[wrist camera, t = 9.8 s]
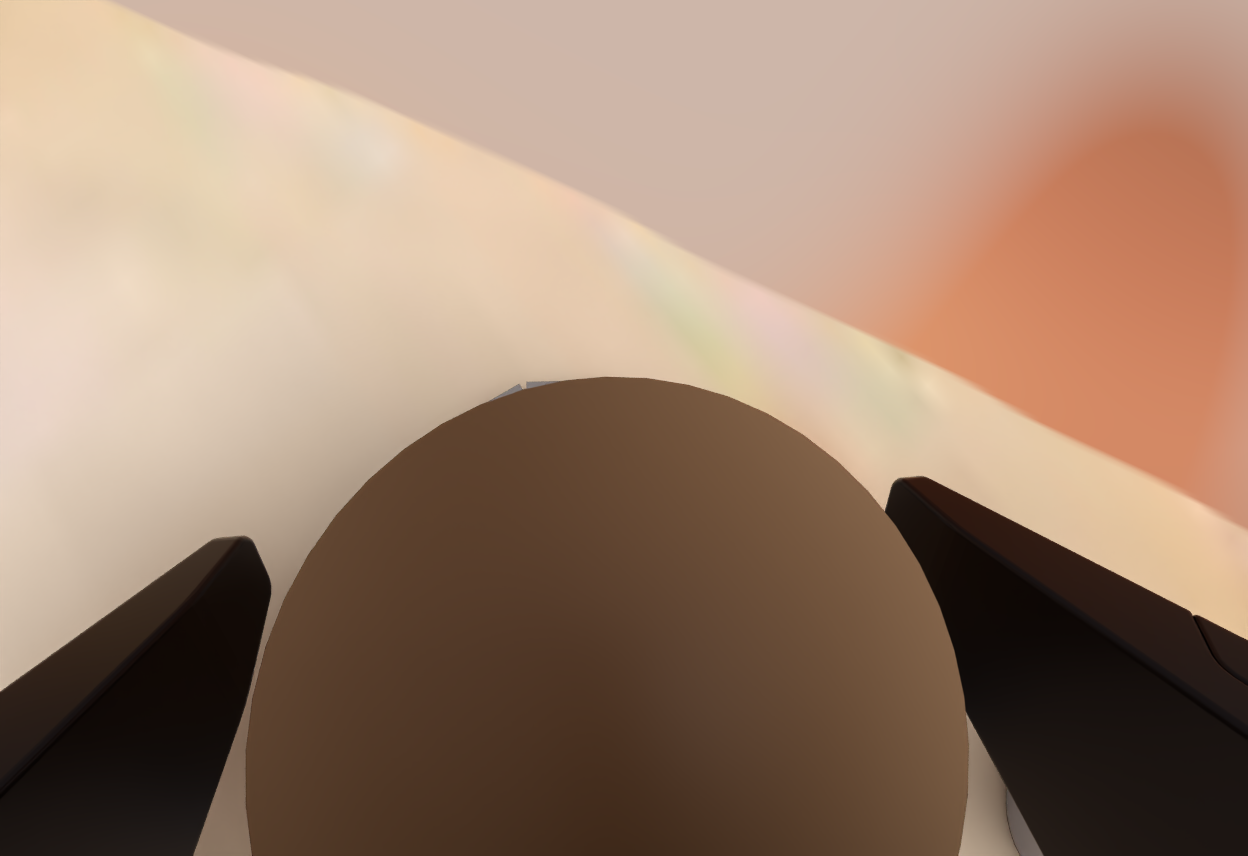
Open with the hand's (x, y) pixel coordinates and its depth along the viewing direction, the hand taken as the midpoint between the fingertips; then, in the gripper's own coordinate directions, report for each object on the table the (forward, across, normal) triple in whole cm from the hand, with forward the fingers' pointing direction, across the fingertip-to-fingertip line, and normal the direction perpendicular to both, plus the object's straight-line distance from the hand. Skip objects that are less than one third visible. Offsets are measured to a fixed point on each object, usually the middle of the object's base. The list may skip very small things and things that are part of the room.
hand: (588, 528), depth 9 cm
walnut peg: (+5, 0, +7) cm, 8 cm away
